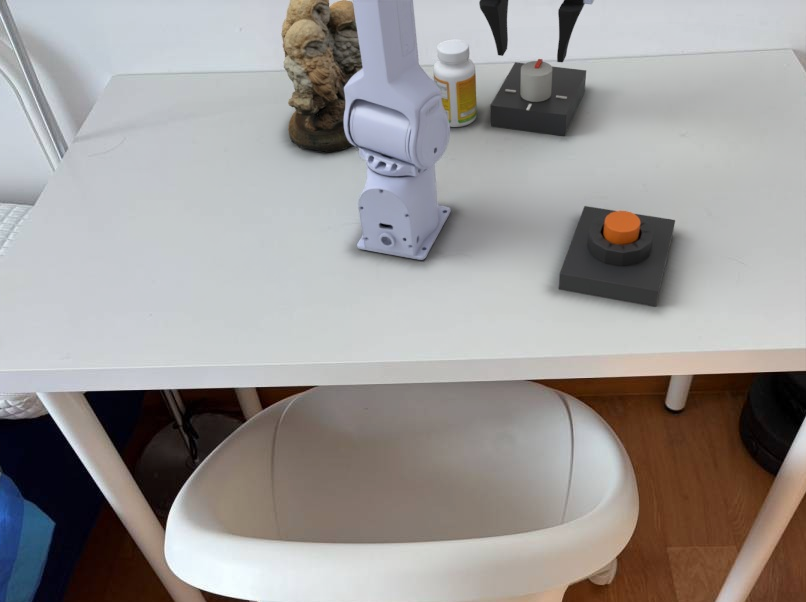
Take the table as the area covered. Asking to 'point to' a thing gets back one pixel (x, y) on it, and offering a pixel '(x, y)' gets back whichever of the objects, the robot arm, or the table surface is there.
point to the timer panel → (539, 103)
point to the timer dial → (536, 81)
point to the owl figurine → (320, 70)
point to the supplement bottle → (456, 82)
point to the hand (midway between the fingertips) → (531, 55)
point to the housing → (617, 259)
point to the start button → (621, 227)
